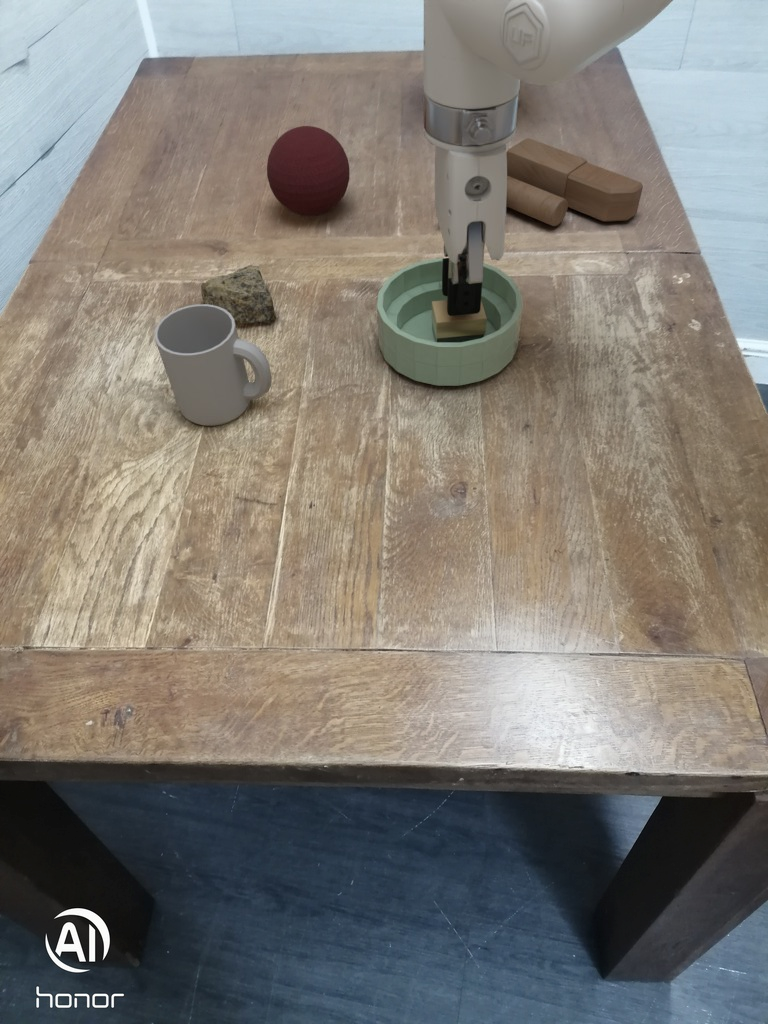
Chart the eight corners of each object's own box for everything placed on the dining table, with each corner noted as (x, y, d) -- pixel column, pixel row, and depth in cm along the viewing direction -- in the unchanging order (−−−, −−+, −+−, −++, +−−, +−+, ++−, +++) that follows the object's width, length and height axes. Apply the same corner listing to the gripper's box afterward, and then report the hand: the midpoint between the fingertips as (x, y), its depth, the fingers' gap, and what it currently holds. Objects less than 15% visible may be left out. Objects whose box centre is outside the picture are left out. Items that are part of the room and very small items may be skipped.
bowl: (543, 334, 80) (549, 289, 76) (464, 410, 74) (466, 366, 69) (433, 286, 86) (434, 242, 82) (351, 353, 79) (347, 309, 75)
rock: (213, 338, 82) (203, 303, 78) (201, 296, 86) (191, 261, 83) (278, 323, 83) (272, 288, 79) (263, 283, 88) (256, 248, 84)
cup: (193, 373, 78) (171, 301, 71) (287, 383, 77) (274, 310, 70) (168, 423, 74) (141, 351, 67) (267, 435, 73) (251, 362, 66)
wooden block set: (522, 126, 97) (648, 171, 89) (518, 169, 101) (637, 217, 93) (434, 179, 89) (563, 234, 81) (434, 224, 94) (556, 280, 86)
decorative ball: (363, 221, 95) (357, 140, 87) (285, 239, 93) (272, 158, 85) (338, 183, 101) (331, 104, 93) (265, 199, 99) (251, 120, 91)
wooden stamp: (478, 324, 81) (485, 239, 73) (484, 346, 78) (492, 260, 70) (430, 328, 80) (432, 243, 72) (435, 350, 78) (438, 264, 70)
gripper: (539, 157, 57) (515, 352, 71) (496, 66, 67) (482, 253, 81) (439, 166, 56) (435, 360, 71) (410, 73, 66) (412, 260, 81)
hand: (460, 301), depth 76 cm, fingers closed on wooden stamp, 2 cm apart
